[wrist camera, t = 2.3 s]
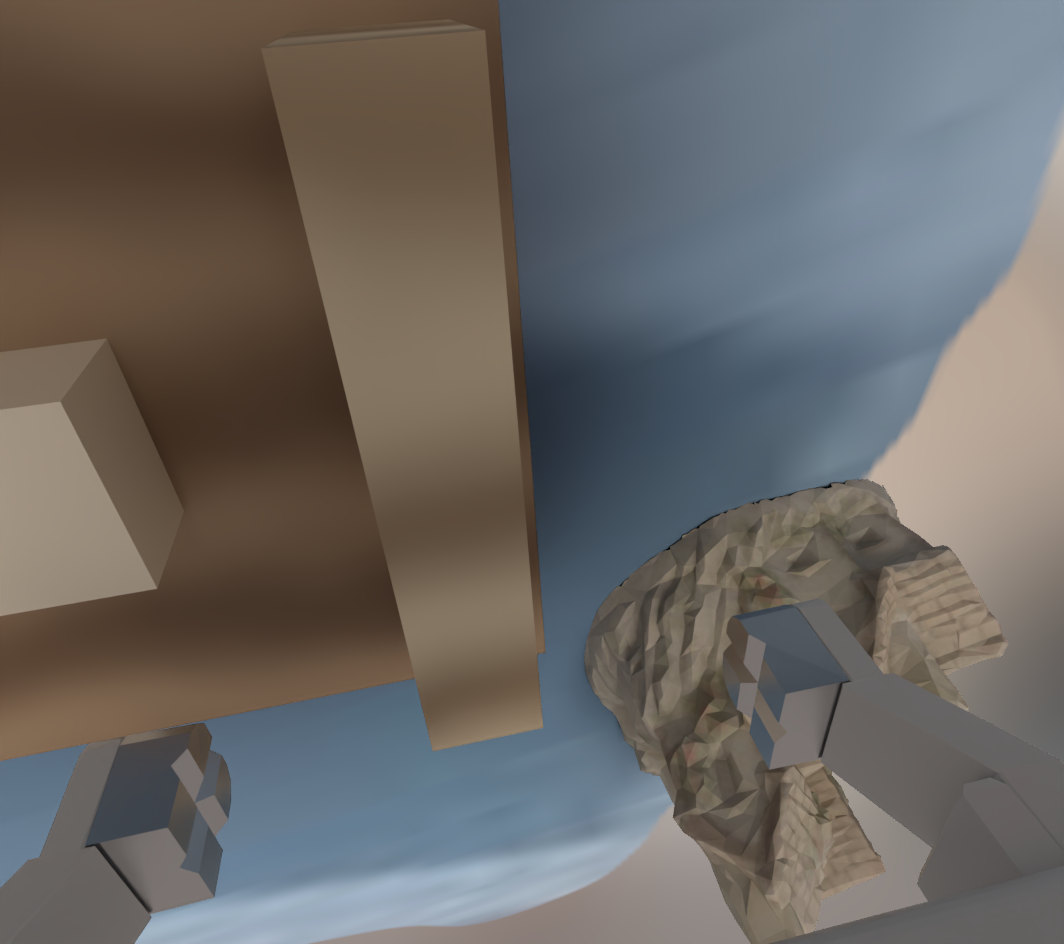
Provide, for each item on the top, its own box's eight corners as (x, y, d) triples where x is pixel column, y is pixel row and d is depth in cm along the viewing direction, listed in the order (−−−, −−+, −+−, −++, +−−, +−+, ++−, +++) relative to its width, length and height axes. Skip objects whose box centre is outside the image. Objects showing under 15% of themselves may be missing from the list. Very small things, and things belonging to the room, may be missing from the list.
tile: (-137, 370, 15) (-233, 442, 13) (107, 338, 16) (60, 400, 13) (-17, 543, 18) (-77, 629, 15) (184, 511, 19) (157, 589, 16)
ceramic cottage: (632, 778, 38) (780, 1133, 25) (540, 573, 29) (701, 970, 16) (889, 663, 38) (1158, 956, 26) (878, 424, 29) (1287, 701, 17)
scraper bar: (292, 31, 13) (260, 47, 9) (448, 19, 14) (484, 30, 10) (420, 615, 22) (433, 751, 18) (511, 598, 23) (543, 727, 19)
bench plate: (-694, -99, 12) (-1060, -130, 9) (458, -153, 15) (483, -193, 12) (-41, 680, 25) (-100, 780, 22) (524, 576, 28) (545, 652, 25)
